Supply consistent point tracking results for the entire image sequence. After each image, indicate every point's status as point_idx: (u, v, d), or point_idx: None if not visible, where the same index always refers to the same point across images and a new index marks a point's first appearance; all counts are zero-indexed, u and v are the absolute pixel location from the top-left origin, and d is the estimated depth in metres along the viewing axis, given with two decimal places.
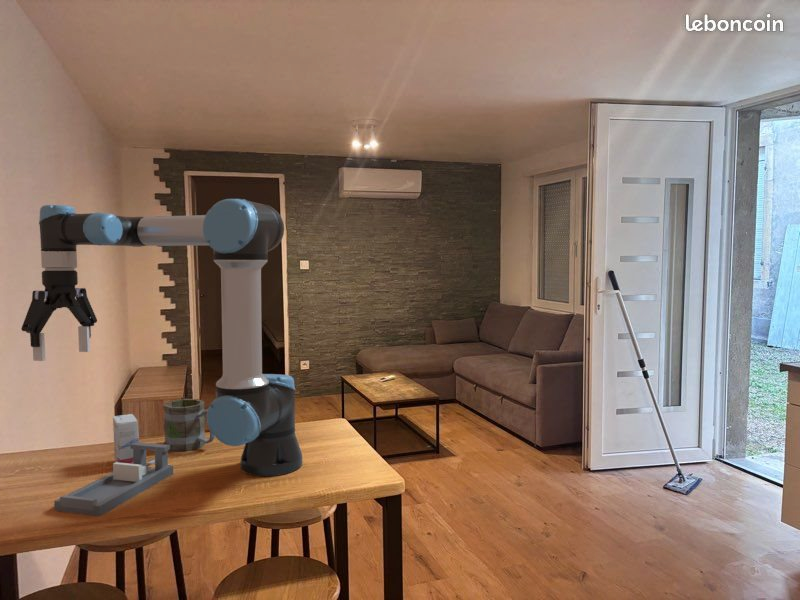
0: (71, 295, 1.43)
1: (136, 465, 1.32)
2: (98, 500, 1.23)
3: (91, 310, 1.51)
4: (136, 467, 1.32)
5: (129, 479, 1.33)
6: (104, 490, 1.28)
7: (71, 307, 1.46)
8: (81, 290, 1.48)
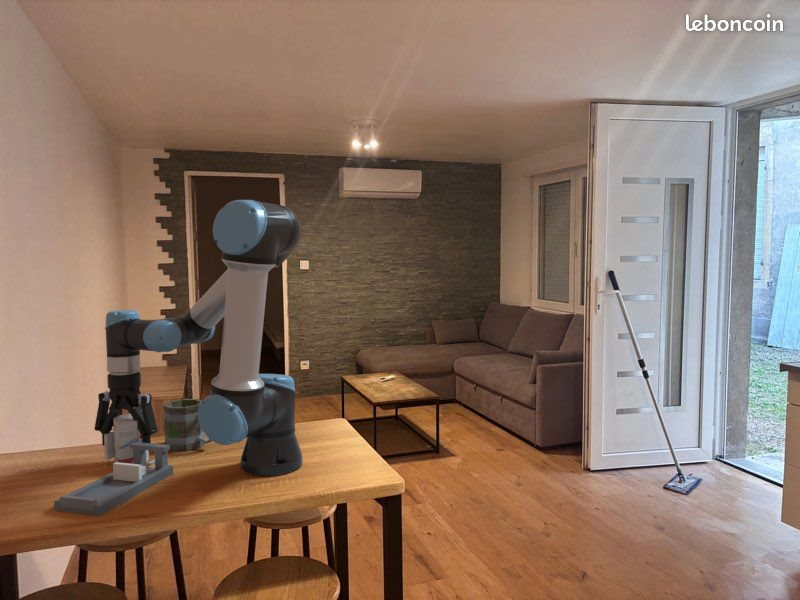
0: (123, 399, 1.44)
1: (136, 465, 1.32)
2: (98, 500, 1.23)
3: (147, 421, 1.44)
4: (136, 467, 1.32)
5: (129, 479, 1.33)
6: (104, 490, 1.28)
7: None
8: None
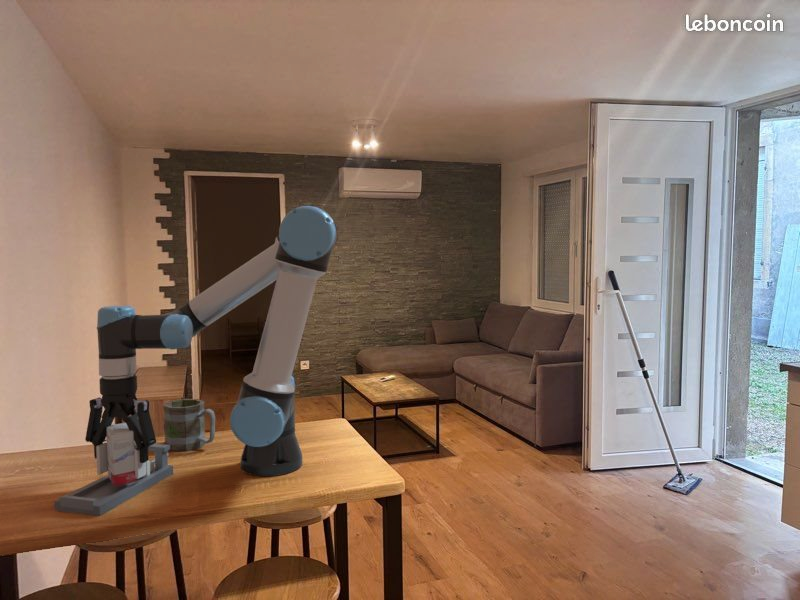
0: (118, 406, 1.28)
1: None
2: (98, 500, 1.23)
3: (144, 431, 1.28)
4: None
5: None
6: (104, 490, 1.28)
7: None
8: None
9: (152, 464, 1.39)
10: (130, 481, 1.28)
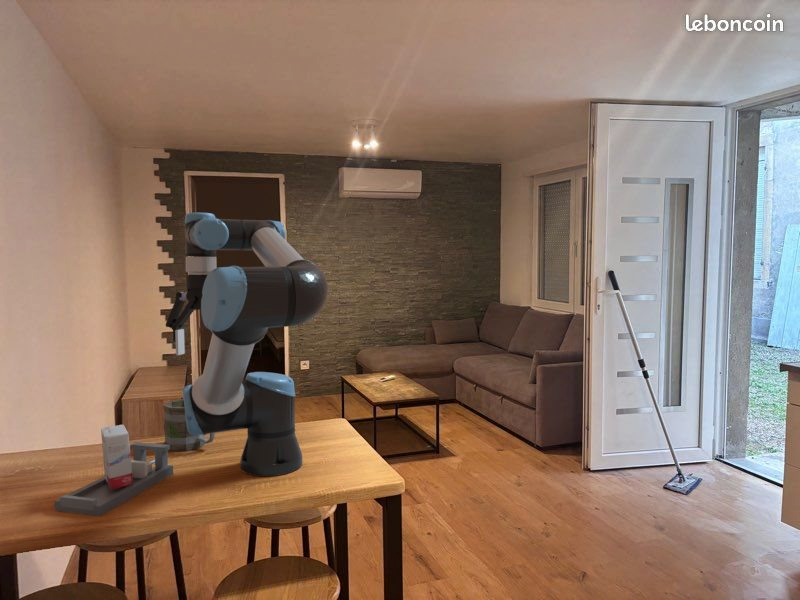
0: (202, 298, 1.48)
1: (142, 462, 1.34)
2: (98, 500, 1.23)
3: None
4: (142, 464, 1.34)
5: (135, 476, 1.35)
6: (104, 490, 1.28)
7: None
8: None
9: (150, 465, 1.39)
10: (126, 484, 1.27)
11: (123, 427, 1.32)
